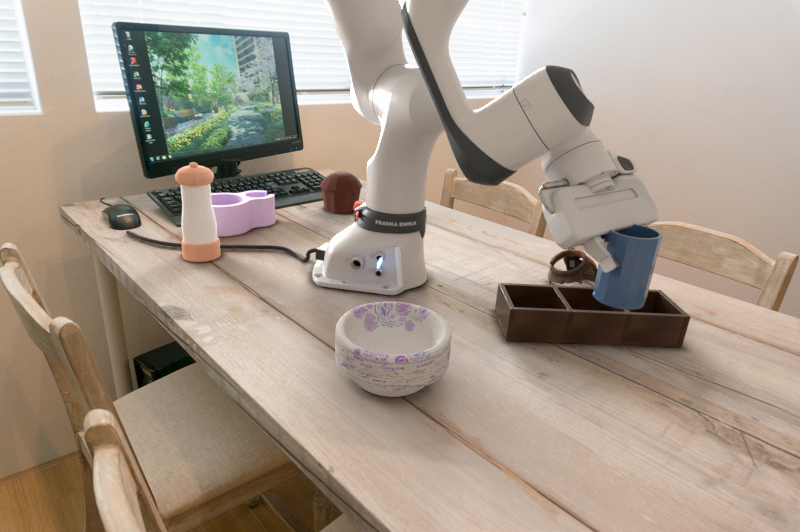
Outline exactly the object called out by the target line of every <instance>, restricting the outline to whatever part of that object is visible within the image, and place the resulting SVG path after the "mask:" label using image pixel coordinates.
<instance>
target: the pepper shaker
mask: <svg viewBox="0 0 800 532" xmlns="http://www.w3.org/2000/svg"><path fill="white" fill-rule="evenodd" d="M174 175H175V176H174V178H175V181H176V183H177V184H178V185H180V194H181V220H180V221H181V222H180V225H181V234H182V239H181V244H182V248H181V251H182V253H181V254H182V258H183V260H185V261H188V262H192V263H206V262H210V261H211V262H212V261H215V260H216V259H218V258H220V257H221V249H220V245H221V241H220V238H219V237H217V222H216V218H215V214H214V210H213V206H212V199H211V193H212V189H211V184H212V183H213V181H214V178H215V175H214V172H213V171H212V169H210V168H208V167H206V166H204V165H199V163H198V162H195V161H192V162H189V164H188V165H185V166H182V167H180V168H178V169H177V171H176V172H175V174H174Z"/></svg>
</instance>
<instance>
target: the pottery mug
mask: <svg viewBox="0 0 800 532" xmlns="http://www.w3.org/2000/svg"><path fill="white" fill-rule="evenodd" d="M561 260H563V264H564V265H565V269H566V270H559V269H556V268H555V267H554V266H555V265H556V264H557V263H558V262H559V261H561ZM549 264H550V266H549V269H548V272H547V280H548V281H547V282H548V283H549V284H552V283H555V284H560V285H565V284H567V285H568V284H573V283H578V284H583V281H590V282H592V283H594V284H595V279H596V275H597V270H598V265H597V264H596V261H595V260H594V259H593V258H592V257H590V256H589V255H587V253H586V252H584V251H582V250H581V249H576V247H573V248H569V249H565V250H564V249H563V250H562V251H560V252H557V253H556V254H555V255H554V256H553V257H552V258H550V261H549Z"/></svg>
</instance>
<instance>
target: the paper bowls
mask: <svg viewBox="0 0 800 532" xmlns="http://www.w3.org/2000/svg"><path fill="white" fill-rule="evenodd" d="M334 330H335V331H334V332H335V333H334V339H335V341H334V346H335V349H334V358H335V364H336V367H337V369H338V371H339V372H340V373H341V374H342V375H343V376H344V377H345V378H346V379H348V380H351V381H352V382H354V383H356V384H357V385H358V386H359V387H360V388H362V389H363V390H365V391H366V392H369V393H371V394H374V395H376V396H381V397H387V398H388V397H389V398H397V397H399V398H400V397H406V396H409V395H412V394H415V393H417V392H418V391H421V390H422V389H423V388H424V387H427V386H429V385H431V384H433V383H436V382H437V381H438V380H440V379H441V378H442V377H443V376H444V374H445V373H446V372H447V370H448V367H449V364H450V357H451V350H452V349H451V348H452V330H451V327H450V325H449V322H447V320H446V319H445V318H444V317H443V316H441V315H440V314H439V313H437V312H436V311H433V310H432V309H429V308H427V307H425V306H421V305H418V304H415V303H410V302H404V301H391V300H390V301H389V300H388V301H387V300H385V301H375V302H369V303H365V304H361V305H357V306H355V307H353V308H351V309H349V310H348V311H346V312H345V313H344V314H343V315H341V317H340V318H339V319H338V321H337V323H336V325H335V329H334Z"/></svg>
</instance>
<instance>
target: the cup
mask: <svg viewBox="0 0 800 532" xmlns="http://www.w3.org/2000/svg"><path fill="white" fill-rule="evenodd" d="M662 239H663V234H662V232H661V231H659V230H657V229H655V228H652V227H650V226H647V227H646V226H642V225H638V224H633V226H632V227H630V228H627V229H623V230H619V231H613V230H610V232H609V233H607V234H605V237H604V239H603V242H604V244H602V245H603V246H604V247H605V249H606V250H607V251H608V252H609V253H610V254H611V255H614V254H615V256H616V257H617V260H618V261H619V263H620V267H619V268H617V269H615V270H613V271H610V272H607V273H605V272H603V270H602V268H601V266H600V264H599V263H598V265H597V269H598V270H597V275H596V279H595V283H594V284H593V287H594V289H593V297H594V298H595V299H596V300H597V301H599V302H601V303H603V304H605V305H607V306H610V307H614V308H618V309H625V310H635V309H640V308H642V307H643V306H644V304H645V302H646V298H647V294H648V291H649V290H650V286H651V282H652V279H653V275H654V270H655V267H656V263H657V259H658V255H659V251H660V247H661V243H662Z"/></svg>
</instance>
